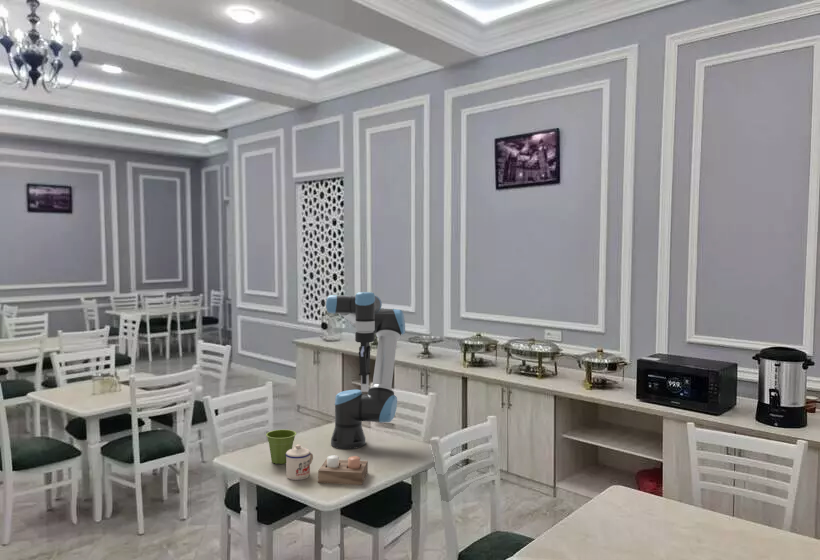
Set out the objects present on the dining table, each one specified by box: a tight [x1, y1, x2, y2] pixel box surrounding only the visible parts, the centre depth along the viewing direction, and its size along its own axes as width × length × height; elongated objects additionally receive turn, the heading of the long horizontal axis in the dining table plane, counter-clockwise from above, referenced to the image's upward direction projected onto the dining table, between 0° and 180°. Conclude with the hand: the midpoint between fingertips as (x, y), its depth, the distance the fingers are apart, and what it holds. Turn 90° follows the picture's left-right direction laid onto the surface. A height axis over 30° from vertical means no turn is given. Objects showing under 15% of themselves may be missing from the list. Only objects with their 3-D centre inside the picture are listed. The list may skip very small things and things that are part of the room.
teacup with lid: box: [285, 444, 314, 481], centre depth 216 cm, size 12×9×12 cm
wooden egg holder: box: [317, 458, 369, 486], centre depth 213 cm, size 12×16×4 cm
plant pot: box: [265, 429, 297, 465], centre depth 230 cm, size 12×12×11 cm
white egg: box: [326, 454, 340, 468], centre depth 213 cm, size 4×4×6 cm
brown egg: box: [347, 455, 361, 469], centre depth 212 cm, size 4×4×6 cm
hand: (364, 391), depth 225 cm, fingers closed
